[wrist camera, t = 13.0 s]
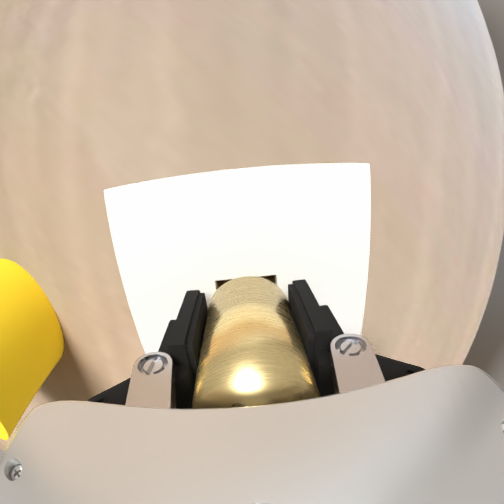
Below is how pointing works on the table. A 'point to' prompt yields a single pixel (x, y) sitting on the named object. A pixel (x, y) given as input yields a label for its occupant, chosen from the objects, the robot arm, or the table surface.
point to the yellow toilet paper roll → (24, 342)
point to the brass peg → (251, 348)
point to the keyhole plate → (243, 237)
